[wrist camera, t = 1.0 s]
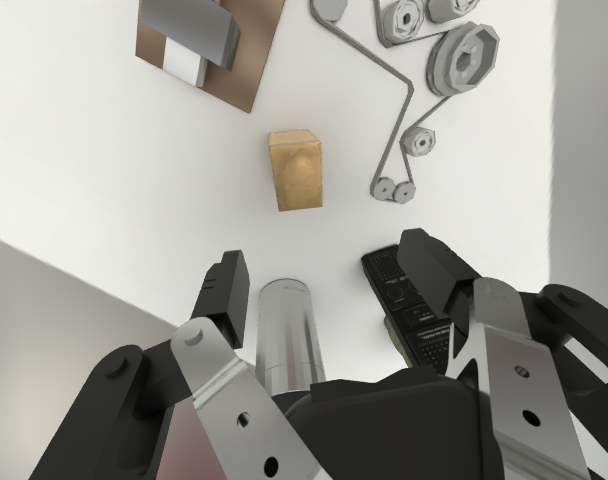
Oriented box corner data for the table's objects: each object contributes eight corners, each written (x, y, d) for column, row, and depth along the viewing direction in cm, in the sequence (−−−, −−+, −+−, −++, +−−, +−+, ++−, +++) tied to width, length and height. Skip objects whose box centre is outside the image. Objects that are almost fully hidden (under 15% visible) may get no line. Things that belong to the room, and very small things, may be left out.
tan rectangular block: (310, 180, 28) (322, 206, 22) (276, 183, 28) (278, 211, 22) (307, 129, 25) (321, 142, 18) (269, 132, 25) (269, 147, 18)
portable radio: (404, 239, 36) (580, 432, 16) (407, 264, 40) (553, 449, 19) (359, 255, 37) (471, 459, 16) (365, 278, 40) (464, 471, 20)
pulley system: (465, -172, 16) (288, -48, 18) (532, -254, 12) (298, -85, 14) (466, 160, 32) (373, 210, 34) (495, 170, 28) (389, 225, 30)
